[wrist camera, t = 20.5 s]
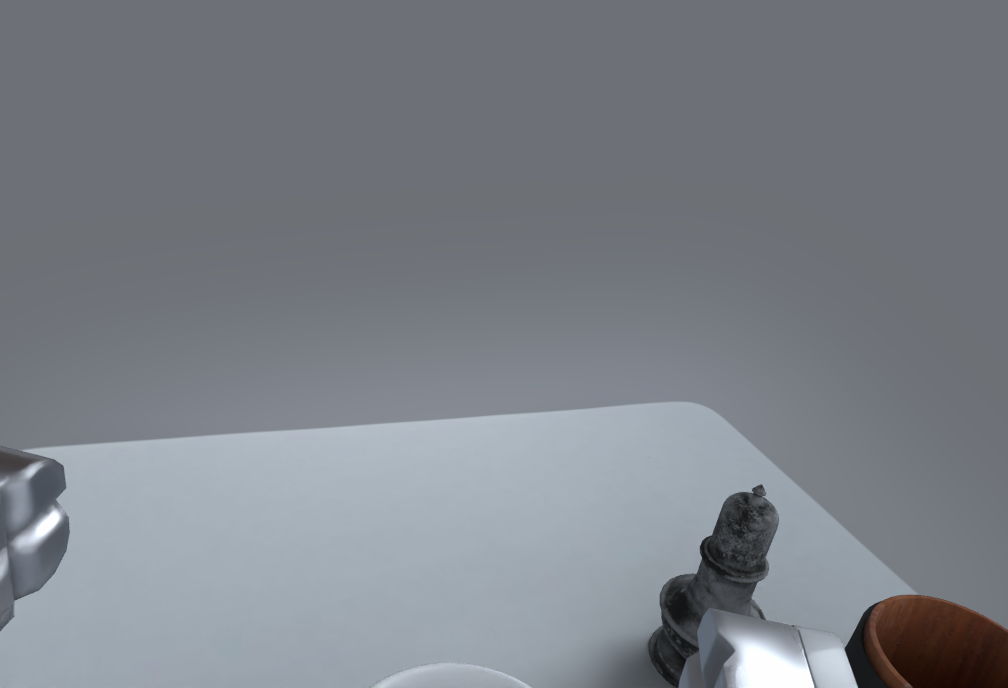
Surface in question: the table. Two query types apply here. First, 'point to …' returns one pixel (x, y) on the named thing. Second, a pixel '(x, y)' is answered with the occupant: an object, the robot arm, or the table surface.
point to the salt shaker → (716, 579)
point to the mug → (927, 646)
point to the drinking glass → (449, 677)
